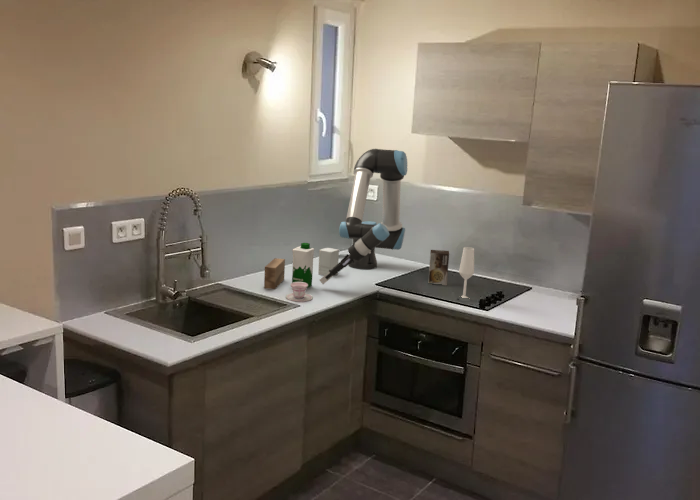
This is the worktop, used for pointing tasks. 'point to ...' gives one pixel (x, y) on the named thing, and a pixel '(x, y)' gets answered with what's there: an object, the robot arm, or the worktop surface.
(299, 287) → the teacup
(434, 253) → the coffee box
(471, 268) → the champagne flute
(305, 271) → the soya milk
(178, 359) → the worktop surface
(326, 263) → the supplement box
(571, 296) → the worktop surface
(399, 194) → the robot arm
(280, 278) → the board
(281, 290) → the worktop surface
